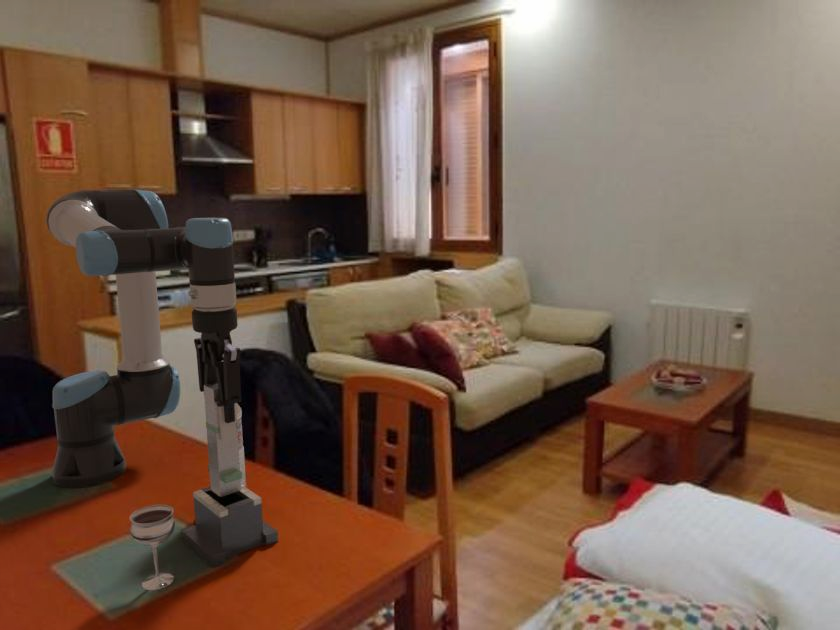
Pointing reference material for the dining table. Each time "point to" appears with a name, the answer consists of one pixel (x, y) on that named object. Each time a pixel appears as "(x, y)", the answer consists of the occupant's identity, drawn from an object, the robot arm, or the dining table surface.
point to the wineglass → (153, 538)
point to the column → (221, 448)
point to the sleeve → (227, 525)
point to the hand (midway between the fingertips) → (222, 434)
